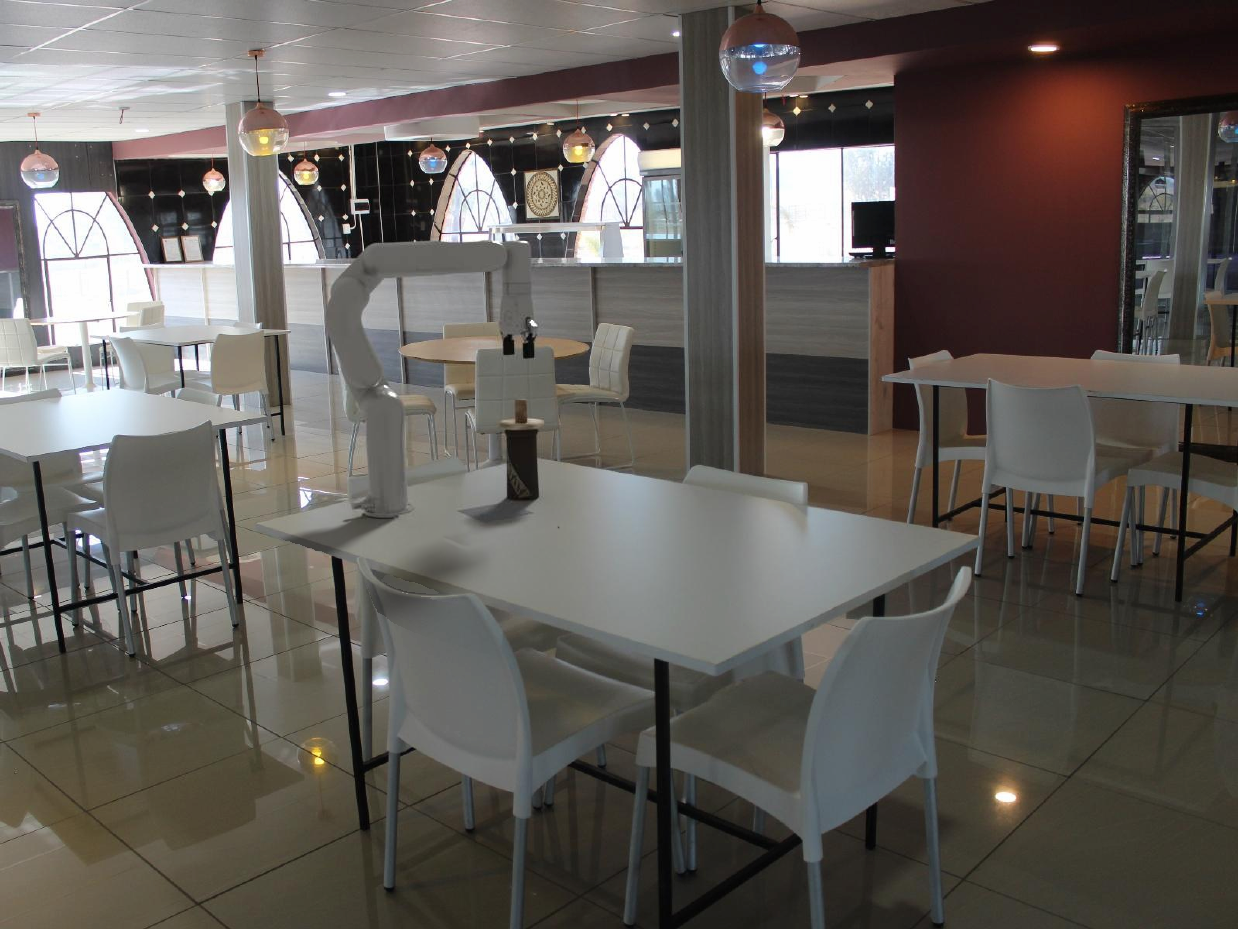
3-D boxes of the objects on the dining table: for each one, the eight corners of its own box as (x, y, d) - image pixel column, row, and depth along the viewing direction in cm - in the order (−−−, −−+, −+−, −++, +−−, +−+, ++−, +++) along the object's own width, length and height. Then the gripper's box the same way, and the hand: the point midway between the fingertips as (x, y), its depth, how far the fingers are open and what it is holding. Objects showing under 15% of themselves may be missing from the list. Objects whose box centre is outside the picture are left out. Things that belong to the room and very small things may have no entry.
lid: (514, 431, 282) (513, 404, 280) (489, 425, 291) (489, 399, 289) (553, 426, 289) (552, 399, 287) (528, 420, 298) (527, 394, 297)
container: (502, 498, 296) (499, 424, 292) (533, 494, 300) (531, 422, 295) (512, 505, 288) (510, 429, 284) (545, 501, 292) (543, 427, 288)
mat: (485, 525, 269) (485, 521, 269) (457, 513, 280) (457, 510, 280) (533, 515, 277) (533, 512, 277) (504, 505, 288) (504, 502, 288)
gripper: (487, 289, 287) (489, 354, 291) (522, 291, 274) (524, 360, 277) (511, 288, 291) (513, 352, 295) (547, 290, 278) (549, 358, 281)
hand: (518, 356), depth 286 cm, fingers open, 9 cm apart
